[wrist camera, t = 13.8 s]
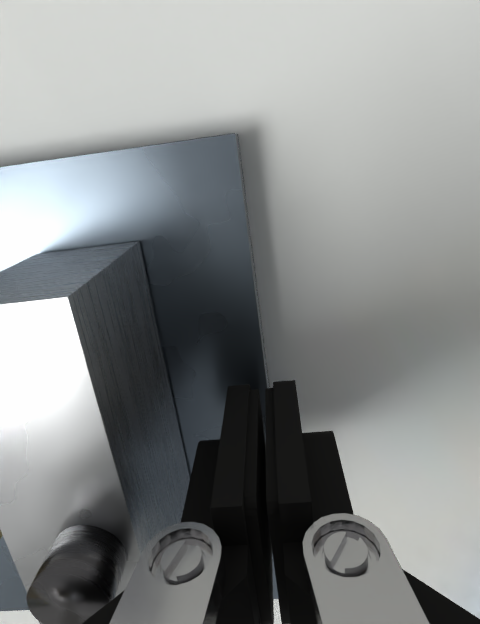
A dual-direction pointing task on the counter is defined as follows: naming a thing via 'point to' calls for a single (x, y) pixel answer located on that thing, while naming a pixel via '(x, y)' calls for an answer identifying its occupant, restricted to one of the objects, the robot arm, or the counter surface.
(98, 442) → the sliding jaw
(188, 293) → the vise
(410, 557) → the counter surface
